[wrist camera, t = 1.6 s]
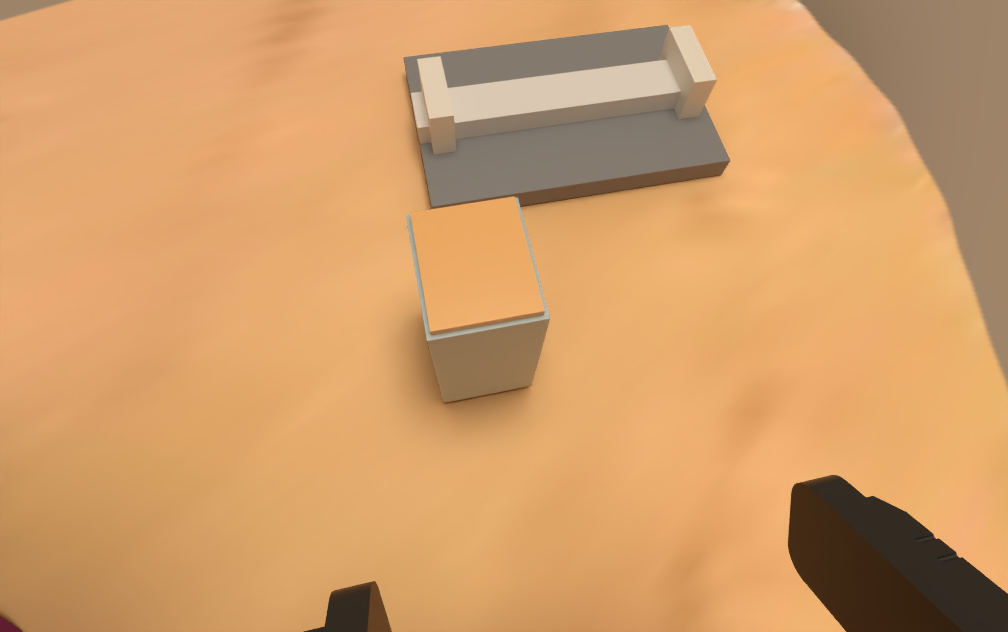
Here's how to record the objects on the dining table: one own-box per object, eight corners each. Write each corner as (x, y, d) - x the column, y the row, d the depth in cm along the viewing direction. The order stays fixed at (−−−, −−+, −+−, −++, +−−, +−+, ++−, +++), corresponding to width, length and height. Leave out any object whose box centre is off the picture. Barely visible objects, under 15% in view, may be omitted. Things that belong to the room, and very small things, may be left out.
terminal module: (443, 405, 31) (425, 337, 21) (427, 309, 33) (404, 209, 23) (530, 388, 31) (551, 314, 22) (508, 295, 34) (518, 191, 24)
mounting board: (433, 220, 36) (426, 174, 31) (406, 74, 41) (397, 17, 36) (721, 174, 38) (751, 125, 33) (661, 41, 43) (681, -16, 38)
